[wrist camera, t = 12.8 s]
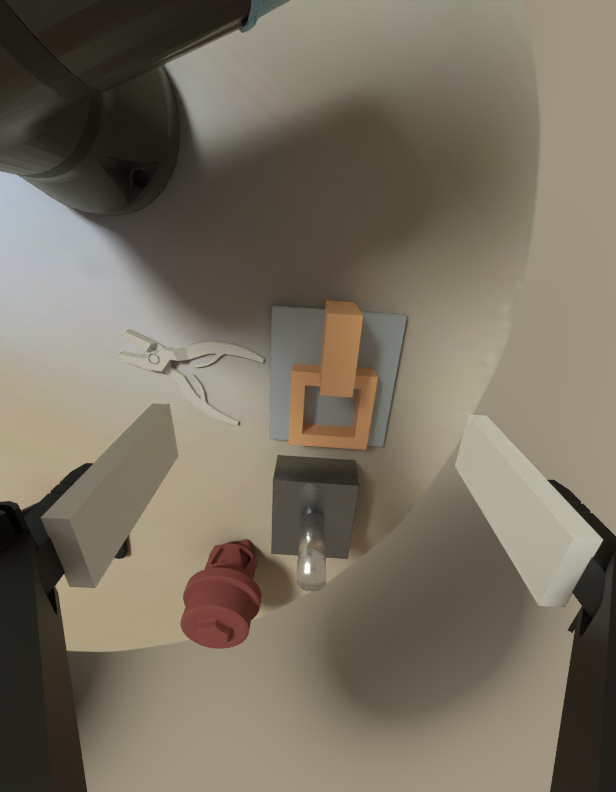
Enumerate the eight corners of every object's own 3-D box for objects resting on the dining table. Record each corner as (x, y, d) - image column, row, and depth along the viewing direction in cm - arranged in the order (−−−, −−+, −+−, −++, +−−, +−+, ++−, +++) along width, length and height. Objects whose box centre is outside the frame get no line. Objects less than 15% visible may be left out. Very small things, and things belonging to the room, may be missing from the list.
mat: (272, 305, 36) (271, 306, 35) (404, 314, 36) (406, 316, 35) (270, 434, 42) (269, 439, 41) (381, 442, 42) (382, 446, 41)
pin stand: (277, 455, 43) (262, 534, 32) (354, 460, 43) (368, 541, 32) (275, 524, 48) (261, 615, 37) (344, 529, 48) (353, 621, 37)
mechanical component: (189, 550, 51) (230, 515, 48) (240, 582, 54) (281, 551, 51) (153, 636, 40) (203, 598, 37) (219, 672, 43) (271, 639, 40)
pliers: (235, 430, 41) (111, 383, 39) (238, 424, 42) (119, 378, 40) (263, 359, 37) (128, 302, 35) (265, 355, 38) (136, 300, 36)
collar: (296, 298, 34) (291, 310, 28) (384, 304, 34) (399, 318, 28) (289, 433, 41) (284, 468, 35) (363, 438, 41) (371, 474, 35)
